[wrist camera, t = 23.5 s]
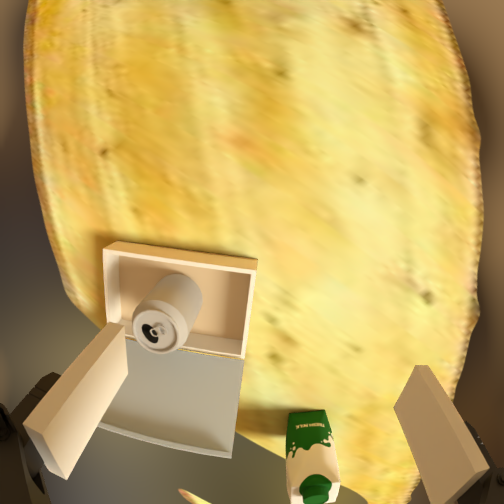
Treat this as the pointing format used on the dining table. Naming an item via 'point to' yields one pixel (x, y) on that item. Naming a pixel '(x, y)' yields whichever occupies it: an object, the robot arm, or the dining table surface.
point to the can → (167, 314)
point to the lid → (177, 400)
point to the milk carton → (311, 459)
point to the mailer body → (202, 273)
